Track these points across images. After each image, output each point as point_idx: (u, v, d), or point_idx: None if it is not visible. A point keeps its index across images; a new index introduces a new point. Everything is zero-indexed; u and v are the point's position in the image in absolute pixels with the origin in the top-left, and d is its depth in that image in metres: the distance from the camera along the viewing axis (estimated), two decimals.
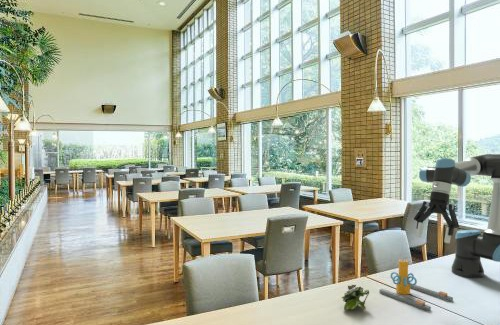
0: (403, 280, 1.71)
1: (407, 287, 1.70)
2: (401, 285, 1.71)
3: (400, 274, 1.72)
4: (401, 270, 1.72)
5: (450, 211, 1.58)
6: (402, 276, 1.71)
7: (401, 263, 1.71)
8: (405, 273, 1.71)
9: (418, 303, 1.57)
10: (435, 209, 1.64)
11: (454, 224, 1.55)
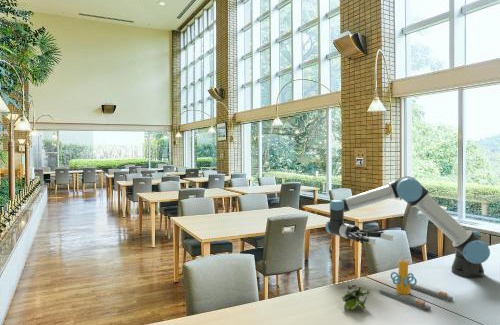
0: (403, 280, 1.71)
1: (407, 287, 1.70)
2: (401, 285, 1.71)
3: (400, 274, 1.72)
4: (401, 270, 1.72)
5: None
6: (402, 276, 1.71)
7: (401, 263, 1.71)
8: (405, 273, 1.71)
9: (418, 303, 1.57)
10: None
11: None
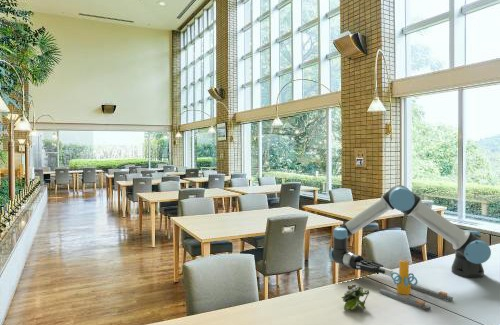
0: (404, 280, 1.71)
1: (408, 287, 1.70)
2: (402, 285, 1.71)
3: (401, 274, 1.72)
4: (402, 270, 1.71)
5: None
6: (403, 276, 1.71)
7: (402, 263, 1.71)
8: (406, 273, 1.71)
9: (418, 303, 1.57)
10: None
11: None
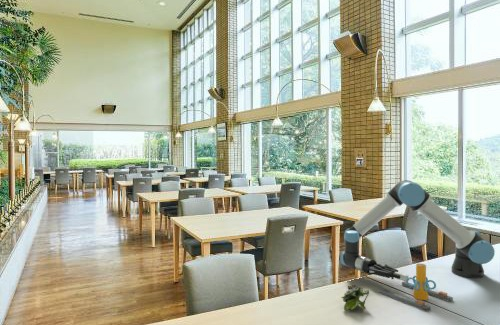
0: (423, 285, 1.64)
1: (427, 292, 1.64)
2: (421, 291, 1.64)
3: (419, 279, 1.65)
4: (420, 275, 1.65)
5: None
6: (421, 281, 1.65)
7: (420, 268, 1.65)
8: (424, 278, 1.65)
9: (418, 303, 1.57)
10: None
11: None
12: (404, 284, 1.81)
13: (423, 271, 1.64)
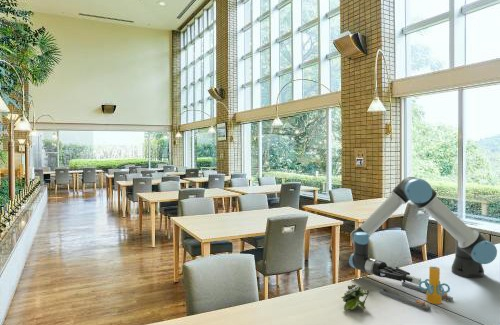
0: (437, 289, 1.60)
1: (440, 296, 1.60)
2: (435, 294, 1.60)
3: (433, 283, 1.61)
4: (434, 278, 1.60)
5: None
6: (435, 285, 1.60)
7: (434, 271, 1.60)
8: (438, 281, 1.60)
9: (418, 303, 1.57)
10: None
11: None
12: (404, 284, 1.81)
13: (437, 274, 1.60)
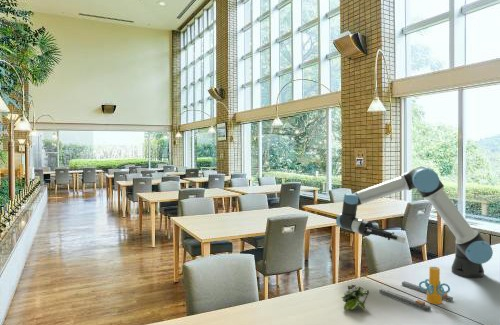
0: (437, 289, 1.60)
1: (441, 296, 1.60)
2: (435, 295, 1.60)
3: (433, 283, 1.61)
4: (434, 278, 1.60)
5: (373, 234, 1.83)
6: (435, 285, 1.60)
7: (434, 271, 1.60)
8: (438, 281, 1.60)
9: (418, 303, 1.57)
10: None
11: None
12: (404, 284, 1.81)
13: (437, 274, 1.60)
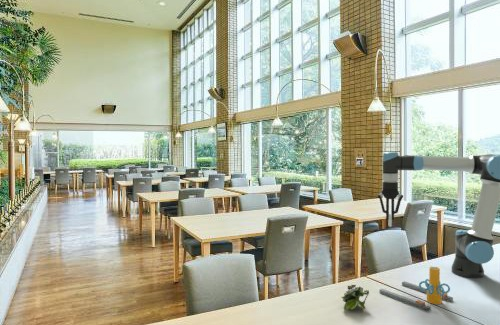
0: (437, 289, 1.60)
1: (441, 296, 1.60)
2: (435, 295, 1.60)
3: (433, 283, 1.61)
4: (434, 278, 1.60)
5: (399, 200, 1.92)
6: (435, 285, 1.60)
7: (434, 271, 1.60)
8: (438, 281, 1.60)
9: (418, 303, 1.57)
10: (389, 196, 1.94)
11: (397, 211, 1.93)
12: (404, 284, 1.81)
13: (437, 274, 1.60)
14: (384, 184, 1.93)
